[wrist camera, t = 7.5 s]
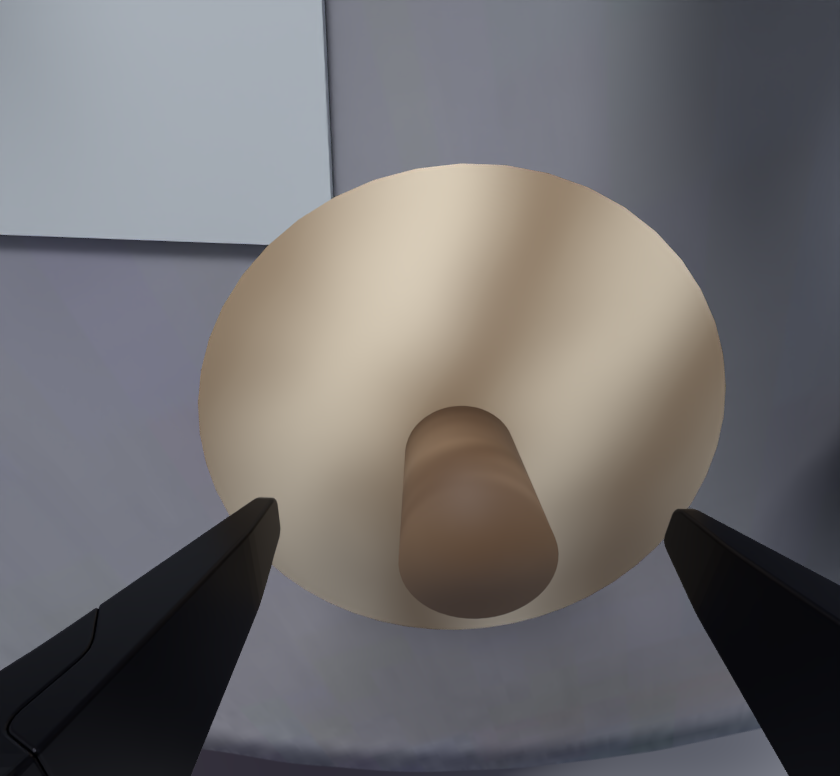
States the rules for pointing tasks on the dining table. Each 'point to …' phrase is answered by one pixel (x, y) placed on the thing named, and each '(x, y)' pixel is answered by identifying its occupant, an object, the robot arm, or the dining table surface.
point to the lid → (463, 395)
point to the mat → (163, 118)
